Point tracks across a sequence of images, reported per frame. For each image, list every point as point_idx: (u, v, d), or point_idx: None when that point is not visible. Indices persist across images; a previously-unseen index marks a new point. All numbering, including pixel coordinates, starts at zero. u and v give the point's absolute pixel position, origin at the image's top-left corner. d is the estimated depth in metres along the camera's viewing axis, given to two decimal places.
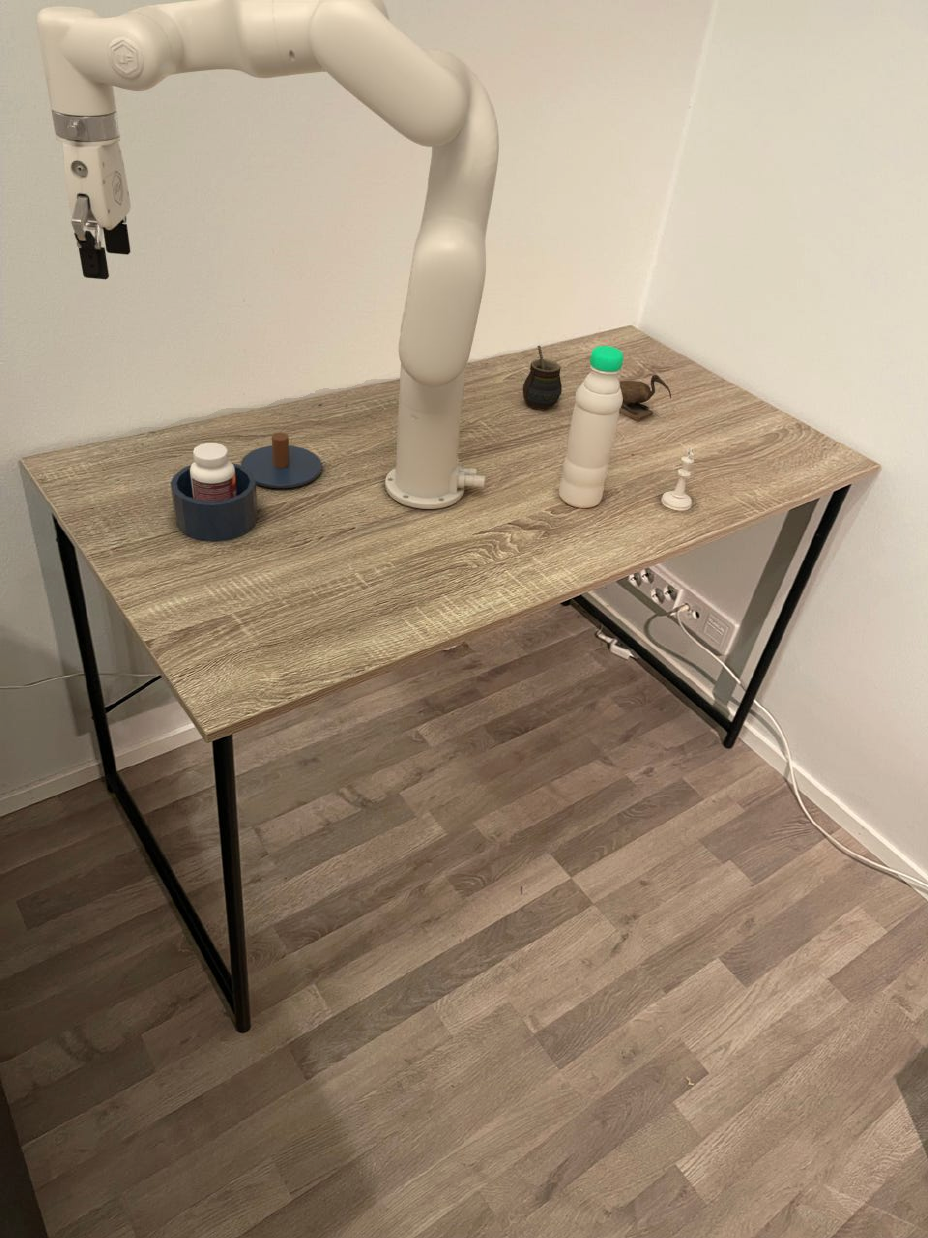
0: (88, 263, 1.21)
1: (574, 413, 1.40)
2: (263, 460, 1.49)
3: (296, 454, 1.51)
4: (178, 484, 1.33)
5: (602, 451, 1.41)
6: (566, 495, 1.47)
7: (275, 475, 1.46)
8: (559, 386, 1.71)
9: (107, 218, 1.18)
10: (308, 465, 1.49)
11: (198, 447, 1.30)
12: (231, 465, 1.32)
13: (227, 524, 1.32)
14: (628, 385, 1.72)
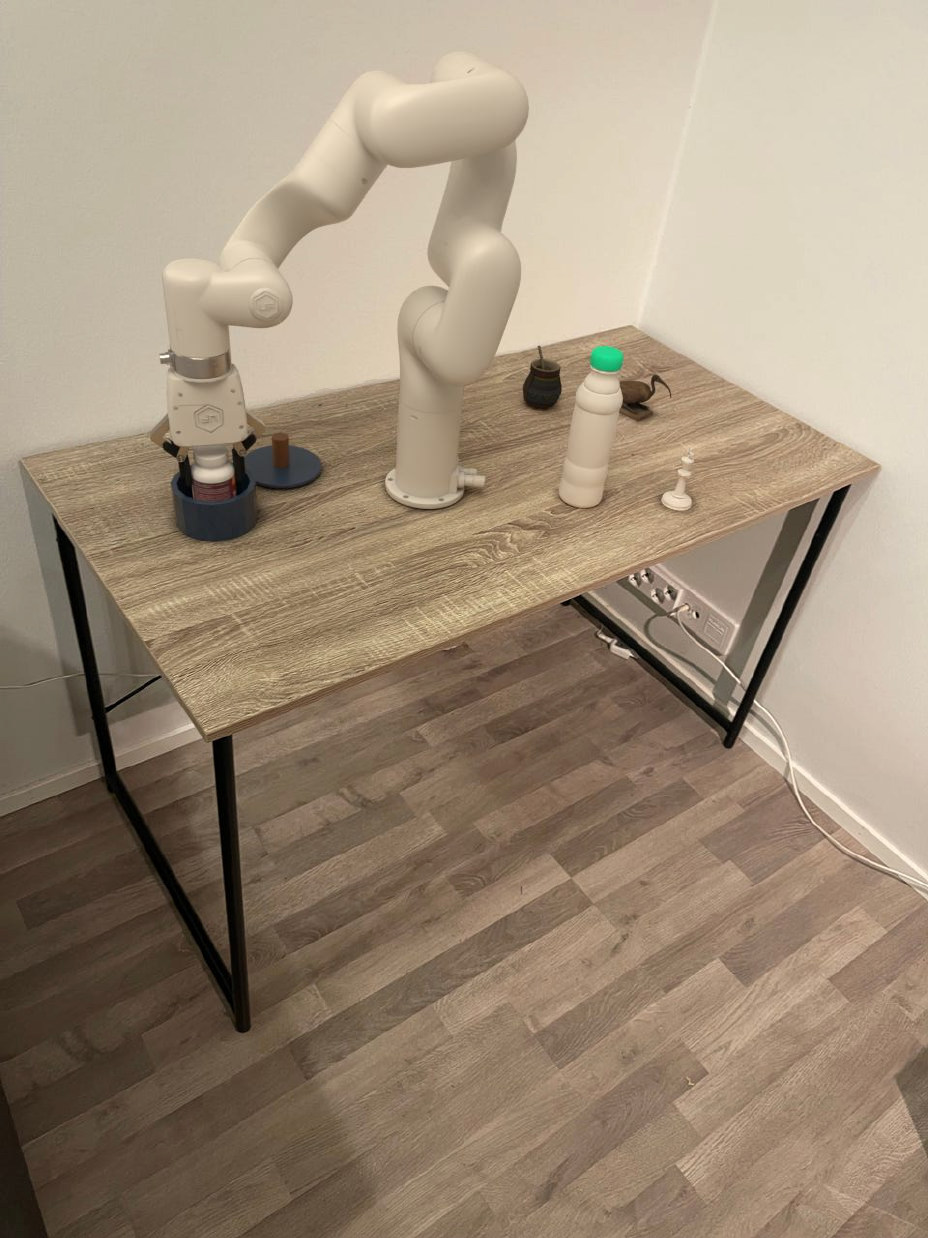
0: None
1: (574, 413, 1.40)
2: (263, 460, 1.49)
3: (296, 454, 1.51)
4: (178, 484, 1.33)
5: (602, 451, 1.41)
6: (566, 495, 1.47)
7: (275, 475, 1.46)
8: (559, 386, 1.71)
9: (174, 437, 1.24)
10: (308, 465, 1.49)
11: (198, 447, 1.30)
12: (231, 465, 1.32)
13: (227, 524, 1.32)
14: (628, 385, 1.72)
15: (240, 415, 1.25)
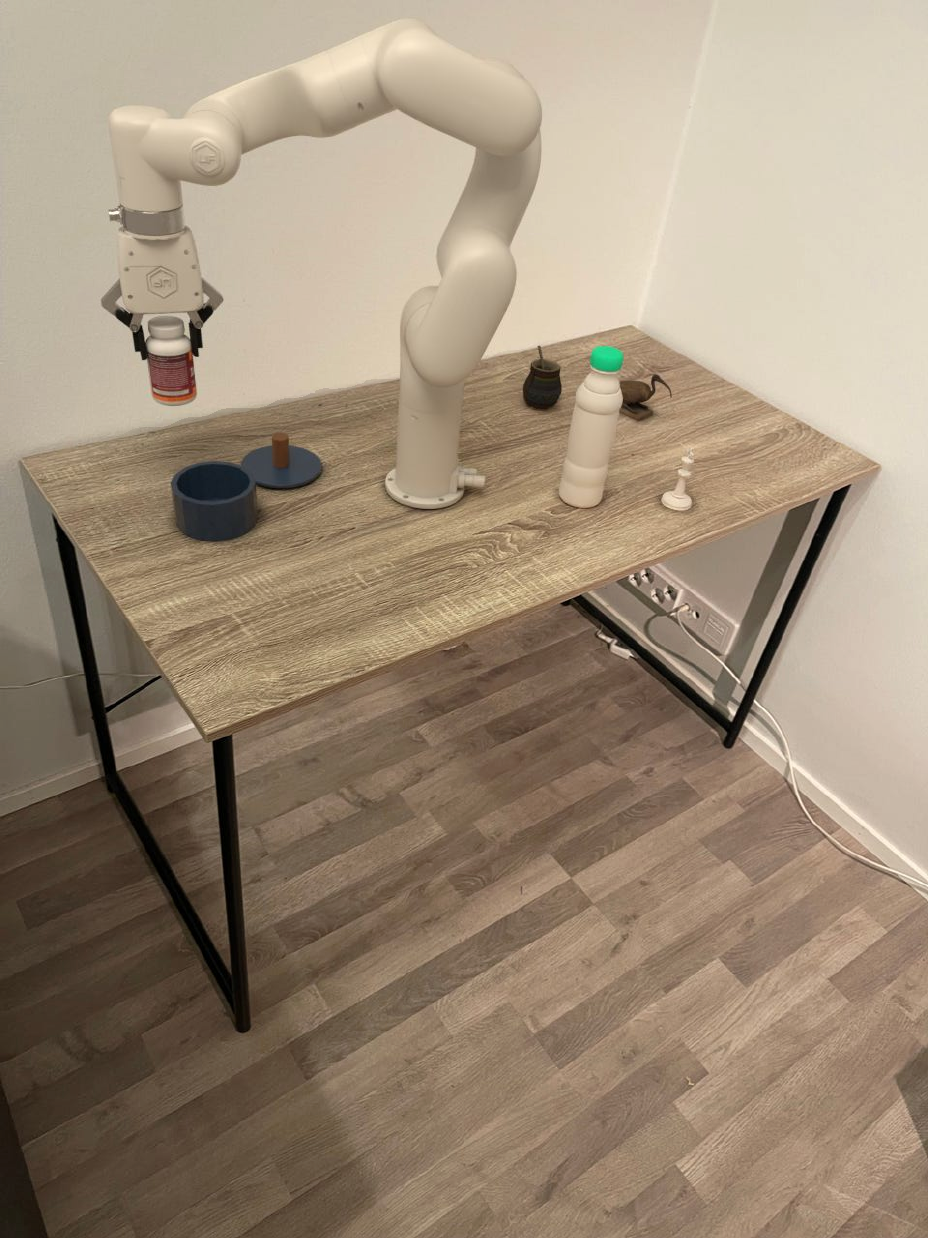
0: (133, 340, 1.26)
1: (574, 413, 1.40)
2: (263, 460, 1.49)
3: (296, 454, 1.51)
4: (178, 484, 1.33)
5: (602, 451, 1.41)
6: (566, 495, 1.47)
7: (275, 475, 1.46)
8: (559, 386, 1.71)
9: (126, 302, 1.20)
10: (308, 465, 1.49)
11: (153, 319, 1.26)
12: (188, 339, 1.28)
13: (227, 524, 1.32)
14: (628, 385, 1.72)
15: (195, 280, 1.21)
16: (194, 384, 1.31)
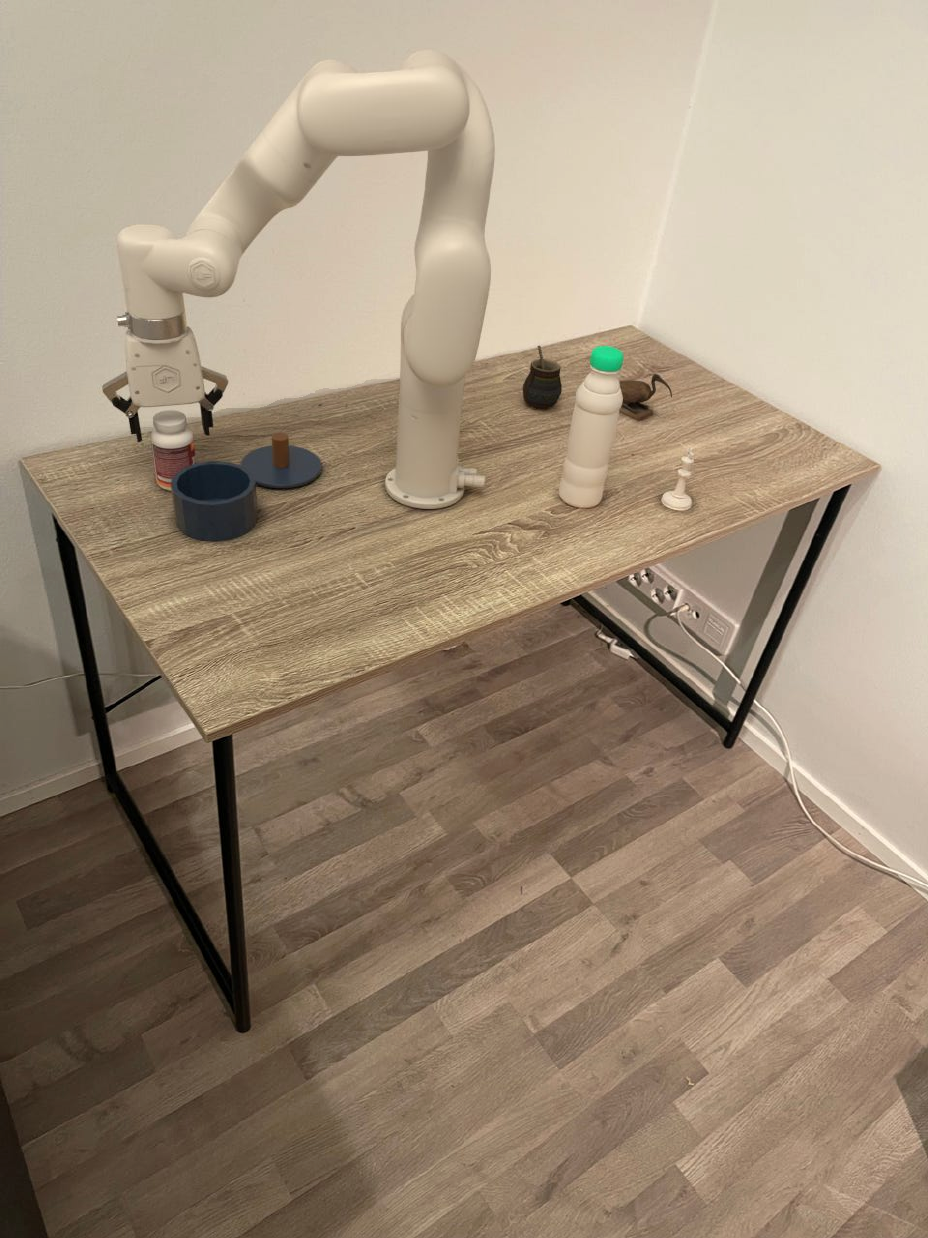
0: None
1: (574, 413, 1.40)
2: (263, 460, 1.49)
3: (296, 454, 1.51)
4: (178, 484, 1.33)
5: (602, 451, 1.41)
6: (566, 495, 1.47)
7: (275, 475, 1.46)
8: (559, 386, 1.71)
9: (133, 397, 1.30)
10: (308, 465, 1.49)
11: (158, 414, 1.37)
12: (190, 431, 1.39)
13: (227, 524, 1.32)
14: (629, 384, 1.73)
15: (196, 376, 1.31)
16: None
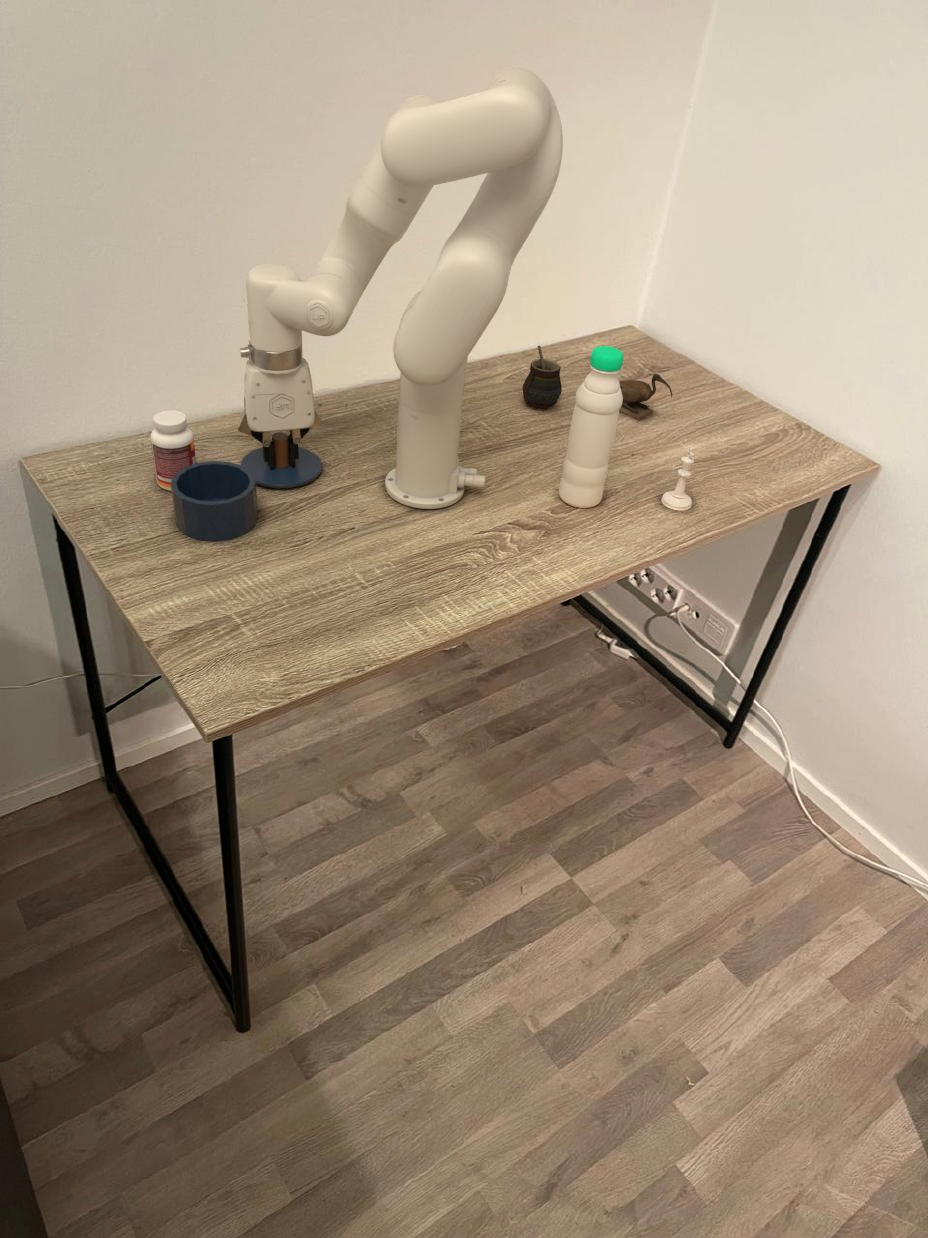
0: (263, 452, 1.46)
1: (574, 413, 1.40)
2: (263, 460, 1.49)
3: None
4: (178, 484, 1.33)
5: (602, 451, 1.41)
6: (566, 495, 1.47)
7: (275, 475, 1.46)
8: (559, 386, 1.71)
9: (250, 422, 1.39)
10: (308, 465, 1.49)
11: (158, 414, 1.37)
12: (190, 431, 1.39)
13: (227, 524, 1.32)
14: (629, 384, 1.73)
15: (309, 403, 1.40)
16: None
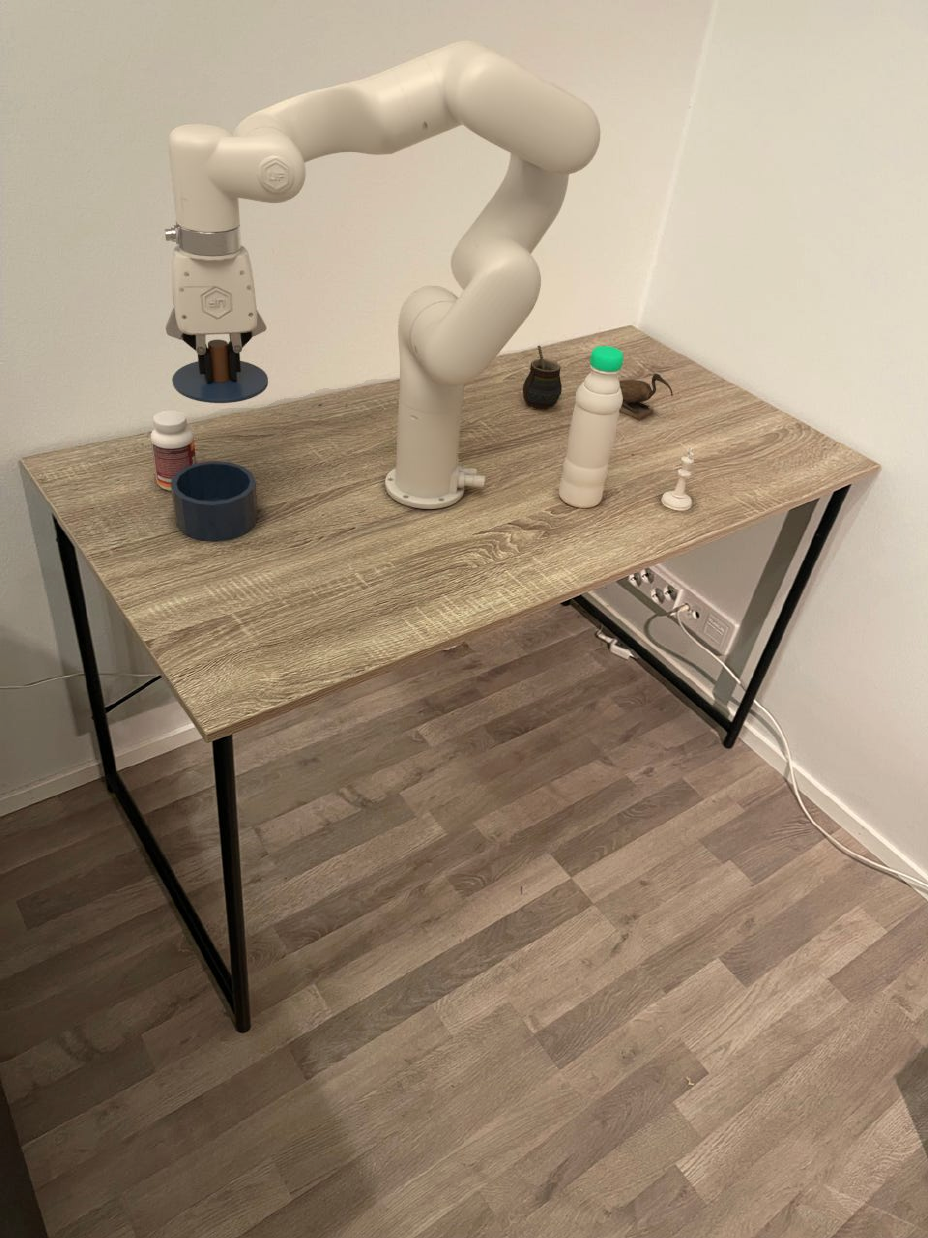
0: (198, 362, 1.25)
1: (574, 413, 1.40)
2: (199, 374, 1.27)
3: None
4: (178, 484, 1.33)
5: (602, 451, 1.41)
6: (566, 495, 1.47)
7: (211, 389, 1.24)
8: (559, 386, 1.71)
9: (180, 322, 1.18)
10: (252, 380, 1.27)
11: (158, 414, 1.37)
12: (190, 431, 1.39)
13: (227, 524, 1.32)
14: (629, 384, 1.73)
15: (249, 301, 1.19)
16: None
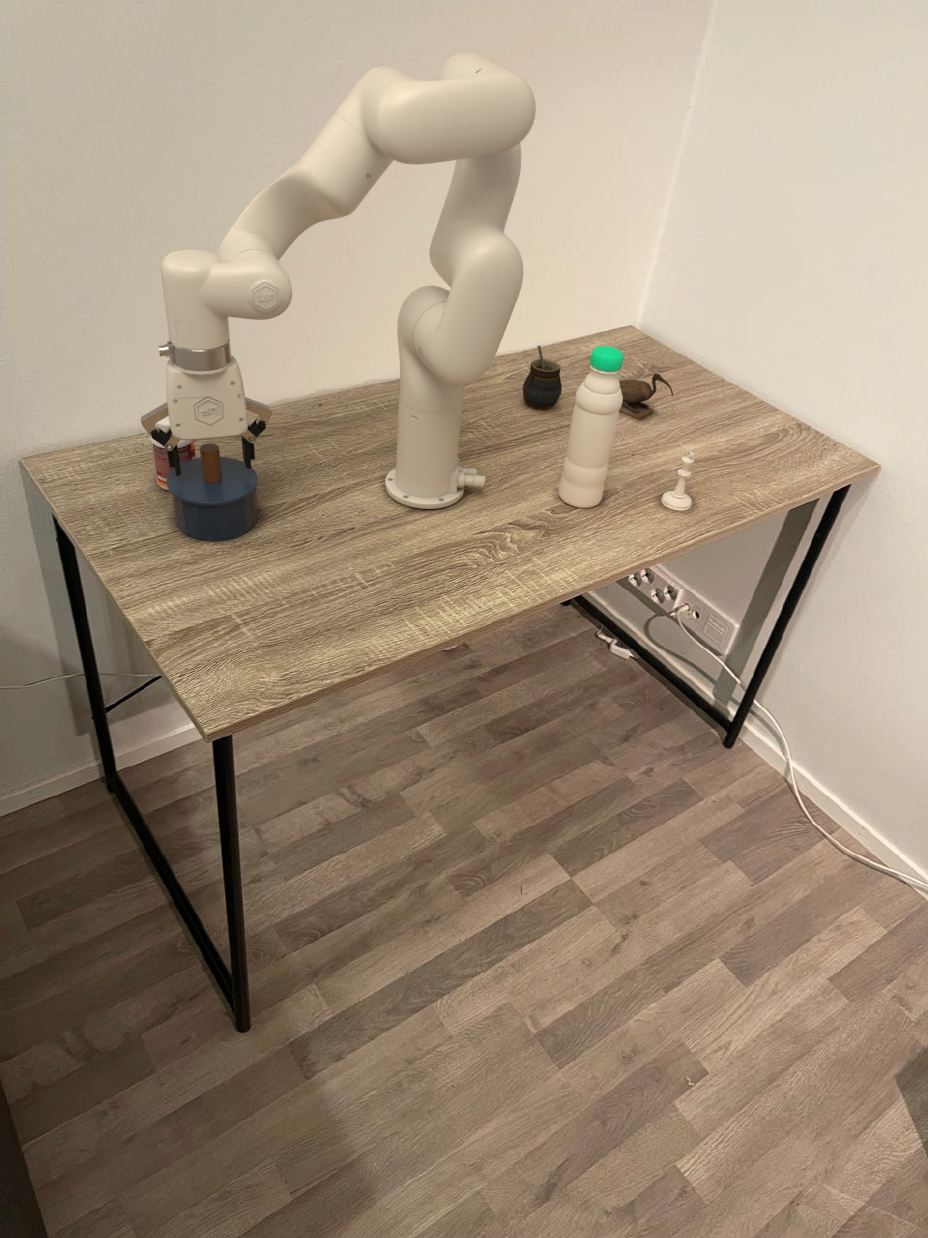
0: None
1: (574, 413, 1.40)
2: (192, 474, 1.33)
3: (230, 467, 1.36)
4: None
5: (602, 451, 1.41)
6: (566, 495, 1.47)
7: (204, 491, 1.30)
8: (559, 386, 1.71)
9: (174, 430, 1.24)
10: (243, 479, 1.33)
11: None
12: None
13: (227, 524, 1.32)
14: (629, 384, 1.73)
15: (240, 408, 1.25)
16: None
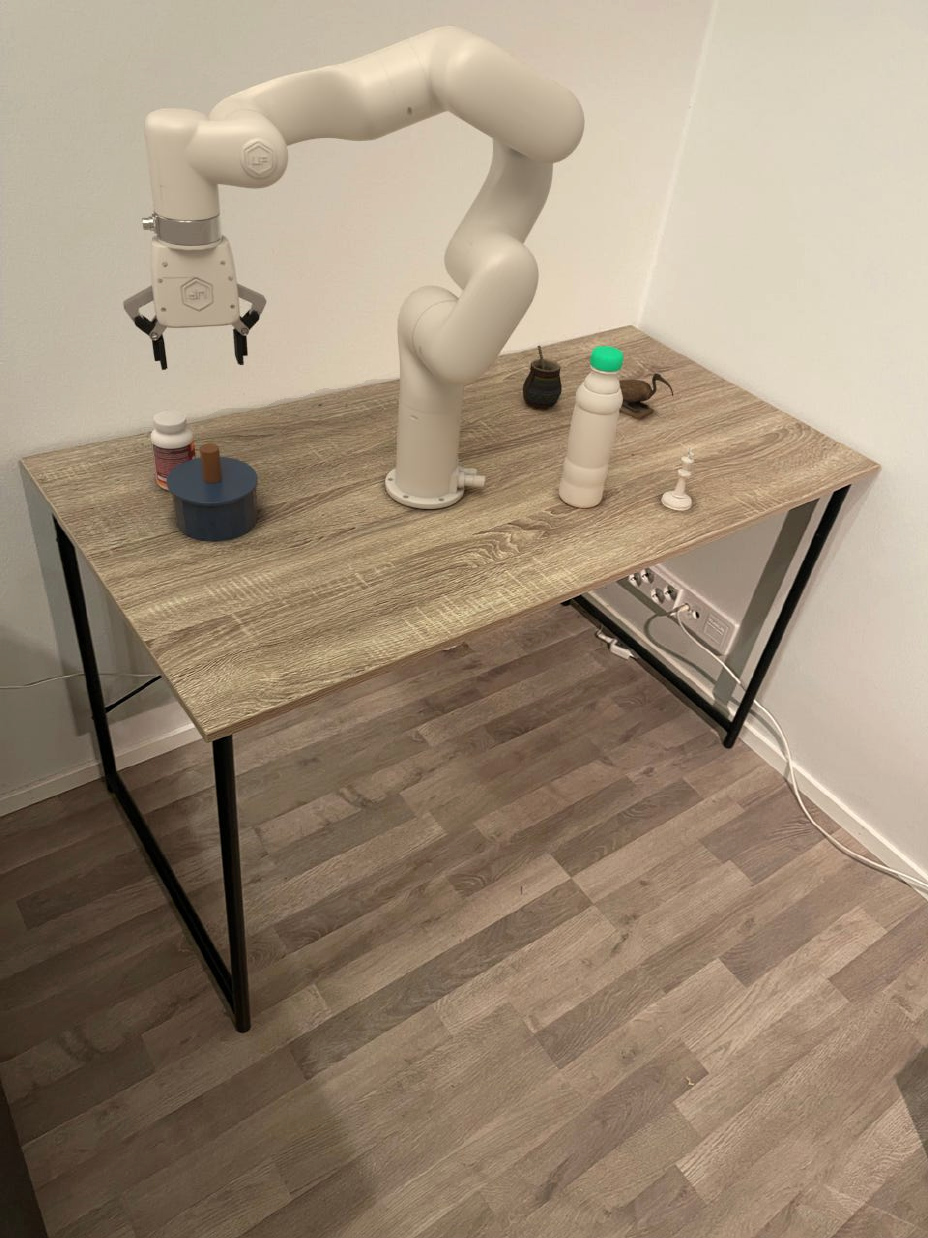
0: None
1: (574, 413, 1.40)
2: (192, 474, 1.33)
3: (230, 467, 1.36)
4: None
5: (602, 451, 1.41)
6: (566, 495, 1.47)
7: (204, 491, 1.30)
8: (559, 386, 1.71)
9: (159, 315, 1.14)
10: (243, 479, 1.33)
11: (158, 414, 1.37)
12: (190, 431, 1.39)
13: (227, 524, 1.32)
14: (629, 384, 1.73)
15: (231, 292, 1.15)
16: None
